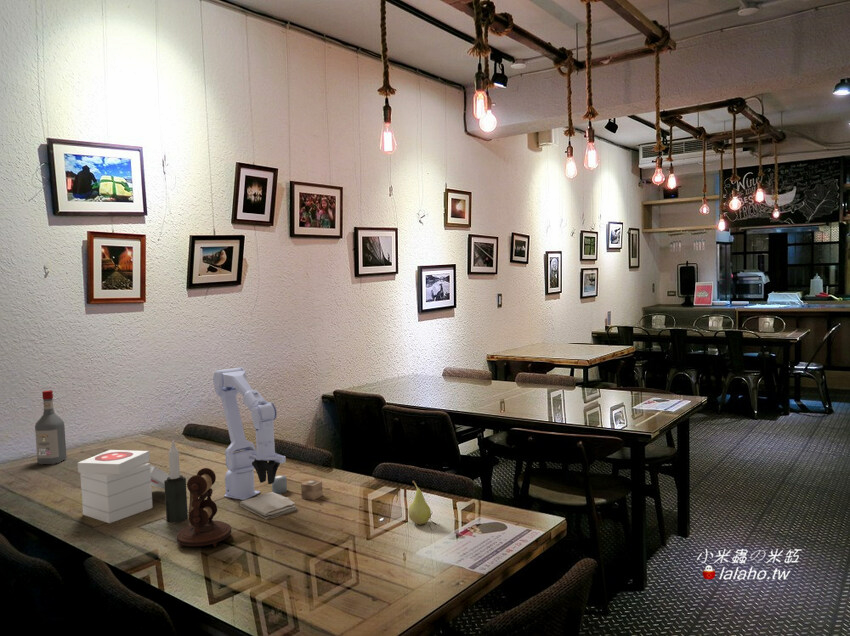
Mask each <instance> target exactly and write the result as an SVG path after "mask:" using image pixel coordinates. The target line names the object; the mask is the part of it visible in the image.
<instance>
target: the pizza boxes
mask: <svg viewBox="0 0 850 636" xmlns="http://www.w3.org/2000/svg"><path fill="white" fill-rule="evenodd" d="M150 460H151V459H150V450H130V449H129V450H126V449H108V450H106V451H104V452H100V453H98V454H96V455H94V456H92V457H88V458H86V459H83V460H80V461H79V462H77V473H78V474H79V475H80V489H81V504H82V505H81V506H82V515H83V516H85V517H89V518H92V519H95V520H98V521H101V522H105V523H107V524H112V523H114V522H116V521H119V520H123V519H126V518H128V517H130V516H134V515H136V514H139V513H142V512H145V511H147V510H150V509H152V508H154V507H153V491H152V489H153V488H152V486H153V487H156V488H160V489H163V490H165V485H164V481H165V480H167V478H168V477H170V474H168V473H167V472H165V471H164V470H161V469H160V468H158V467H157V466H154V465H151V463H150V462H149V461H150Z"/></svg>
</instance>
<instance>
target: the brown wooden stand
mask: <svg viewBox="0 0 850 636" xmlns="http://www.w3.org/2000/svg"><path fill="white" fill-rule="evenodd" d="M216 479H217V475H216V473H215V471H214V470H212V469H211V468H208V467H203V468H201V469H200V470H198V472H197V473H196V474H195V475H192V476H191V477H189V479H188V480H187V481H186V489H187V490H188V491H189V506H188V518H187V519H188V521H189V522H188V523H189V525H187V526H185V527H184V528H181V530H180V531H178V533H177V534H176V542H177V543H178V545H179V547H180V548H183V547H184V546H186V547H203V546H208V545H212V546H213V547H214V548H216V547H217V545H218V543H219V542H221V541H223V540H225V539H227V538H228V537H230V536H231V534H232V526H231V524H229V523H227V522H224V521H221V520H213V519H214V517H215V516H216V515H217V512H218V506H217V504H216V502H215V501H213V500H212V495H213V493H214V492H213V488H211V487H212V486H213V485H214V484H215V482H216Z"/></svg>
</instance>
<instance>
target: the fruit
mask: <svg viewBox="0 0 850 636" xmlns="http://www.w3.org/2000/svg"><path fill="white" fill-rule="evenodd" d="M412 483H413V484H414V486H415V487H416V491H415V494H414V499H413V501H412V502H411V504H410V505H409V506H408V509H407V514H408V518H409V519H410V521H412V523H415V524H416V525H425V524H426V523H428V522H429V520H430V519H431V516H432V510H431V507H430V506H429V505H428V503H427V501H426V500H425V497H424V494H423V492H422V490H421V489H420V488H419V487H418V486H417V483H416V482H415V480H412Z"/></svg>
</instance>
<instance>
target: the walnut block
mask: <svg viewBox="0 0 850 636" xmlns="http://www.w3.org/2000/svg"><path fill="white" fill-rule="evenodd" d="M300 489H301V490H300V491H301V499H303V500H309V501H315V500H317V499H319V498H321V497H323V481H321V480H315V479H314V480H313V479H309V480H306V481H305V482H302V483H300Z"/></svg>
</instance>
